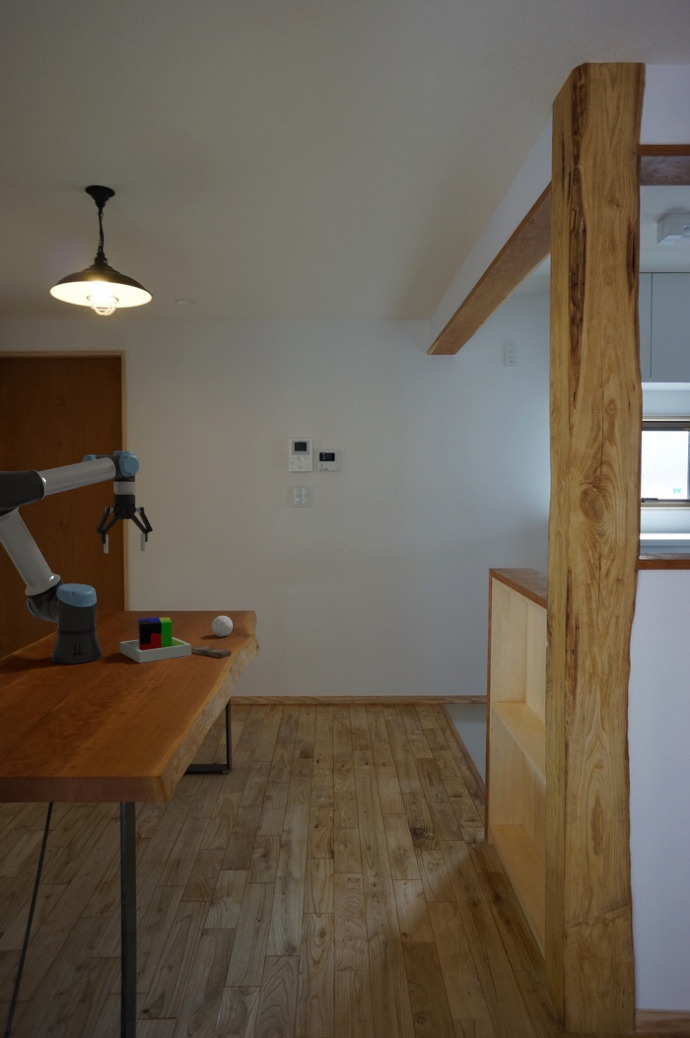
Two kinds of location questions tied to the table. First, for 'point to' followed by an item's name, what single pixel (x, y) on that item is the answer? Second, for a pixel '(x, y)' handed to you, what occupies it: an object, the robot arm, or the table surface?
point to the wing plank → (211, 651)
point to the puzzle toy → (155, 633)
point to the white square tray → (155, 651)
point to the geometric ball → (222, 626)
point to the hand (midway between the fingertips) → (124, 552)
